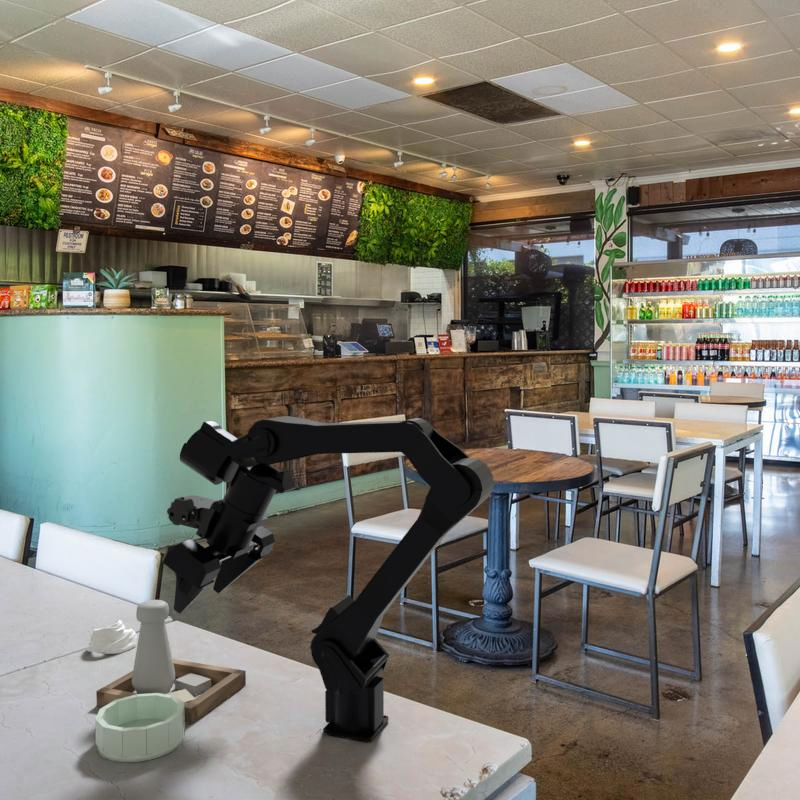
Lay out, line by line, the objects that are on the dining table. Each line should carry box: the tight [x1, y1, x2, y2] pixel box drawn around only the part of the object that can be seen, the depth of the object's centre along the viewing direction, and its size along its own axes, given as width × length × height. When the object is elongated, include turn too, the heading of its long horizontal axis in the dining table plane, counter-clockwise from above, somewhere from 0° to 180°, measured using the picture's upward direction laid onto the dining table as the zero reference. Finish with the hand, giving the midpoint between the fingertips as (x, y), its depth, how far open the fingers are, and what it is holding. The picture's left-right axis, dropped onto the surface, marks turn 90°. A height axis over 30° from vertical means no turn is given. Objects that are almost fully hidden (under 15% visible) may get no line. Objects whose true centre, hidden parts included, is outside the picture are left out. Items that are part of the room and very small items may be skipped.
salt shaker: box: [132, 599, 176, 694], centre depth 110 cm, size 6×6×13 cm
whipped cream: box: [85, 619, 138, 655], centre depth 128 cm, size 8×7×5 cm
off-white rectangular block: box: [174, 673, 212, 696], centre depth 113 cm, size 4×3×2 cm
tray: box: [96, 658, 247, 725], centre depth 111 cm, size 15×13×2 cm
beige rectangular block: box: [167, 689, 196, 703], centre depth 107 cm, size 4×3×2 cm
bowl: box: [94, 693, 186, 763], centre depth 97 cm, size 10×10×4 cm
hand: (197, 600), depth 108 cm, fingers open, 9 cm apart
